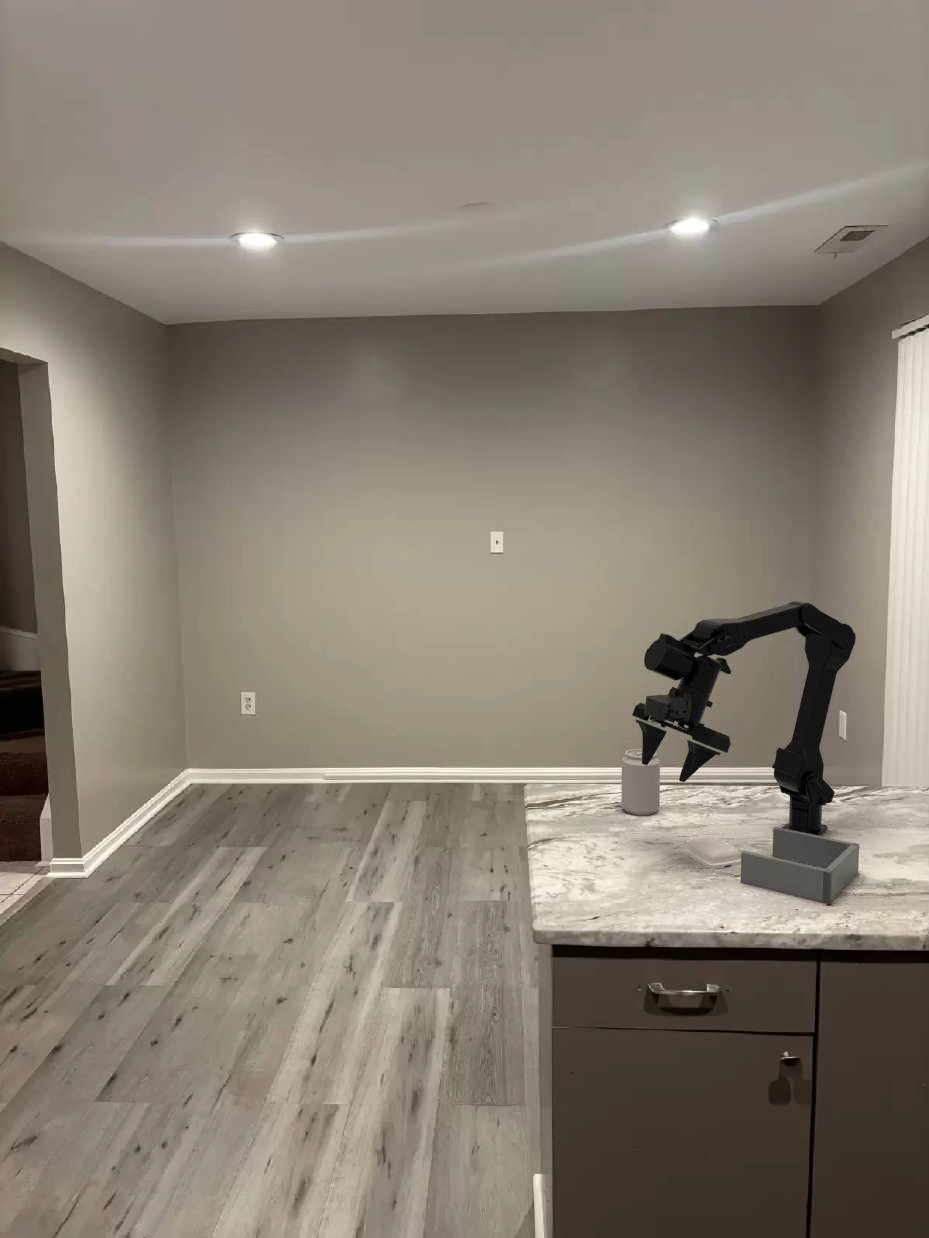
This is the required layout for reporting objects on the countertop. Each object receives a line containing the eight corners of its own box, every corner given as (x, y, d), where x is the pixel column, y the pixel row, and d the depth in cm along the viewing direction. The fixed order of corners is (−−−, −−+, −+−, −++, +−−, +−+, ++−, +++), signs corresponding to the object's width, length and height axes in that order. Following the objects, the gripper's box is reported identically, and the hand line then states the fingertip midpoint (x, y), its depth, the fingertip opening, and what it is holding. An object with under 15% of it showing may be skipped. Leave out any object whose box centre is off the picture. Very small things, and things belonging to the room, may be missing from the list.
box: (774, 854, 164) (775, 826, 163) (858, 873, 155) (859, 843, 155) (740, 882, 152) (741, 852, 152) (829, 903, 144) (830, 872, 143)
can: (659, 817, 184) (660, 757, 183) (620, 815, 185) (621, 756, 184) (659, 805, 191) (660, 747, 190) (622, 803, 193) (622, 746, 191)
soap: (744, 865, 160) (745, 849, 160) (710, 871, 158) (711, 854, 157) (714, 848, 168) (714, 832, 168) (681, 853, 166) (681, 837, 166)
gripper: (627, 663, 167) (596, 745, 167) (705, 689, 152) (670, 780, 151) (668, 681, 174) (637, 760, 173) (746, 707, 158) (713, 794, 158)
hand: (662, 772), depth 164 cm, fingers open, 9 cm apart
